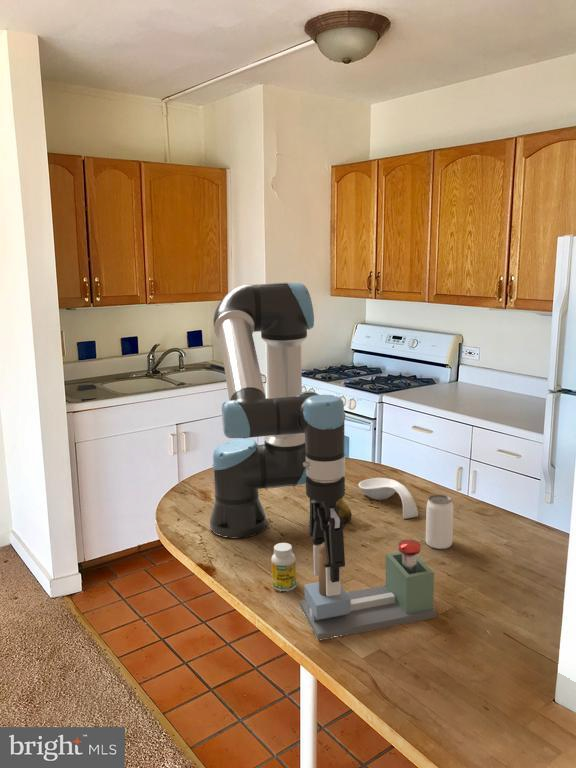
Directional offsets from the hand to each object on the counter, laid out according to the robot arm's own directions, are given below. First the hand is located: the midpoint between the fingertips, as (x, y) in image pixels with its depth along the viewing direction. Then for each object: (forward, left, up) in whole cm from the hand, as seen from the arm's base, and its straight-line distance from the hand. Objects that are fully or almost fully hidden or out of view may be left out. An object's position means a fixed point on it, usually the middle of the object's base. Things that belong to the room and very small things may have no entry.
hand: (326, 583), depth 127 cm
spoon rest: (-49, +36, -9) cm, 61 cm away
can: (-22, +37, -8) cm, 44 cm away
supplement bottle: (-15, -5, -8) cm, 18 cm away
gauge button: (0, +18, -4) cm, 18 cm away
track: (0, +9, -8) cm, 12 cm away
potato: (-44, +16, -8) cm, 48 cm away
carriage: (0, 0, -6) cm, 6 cm away
